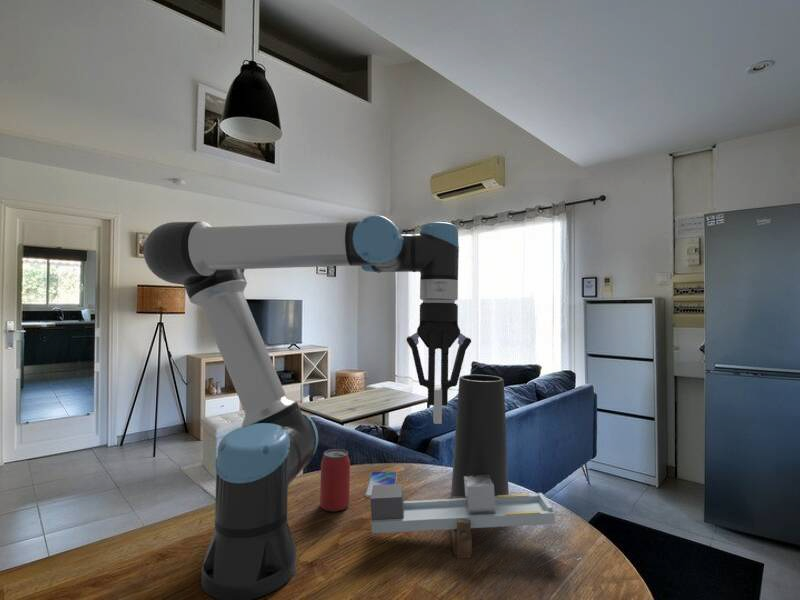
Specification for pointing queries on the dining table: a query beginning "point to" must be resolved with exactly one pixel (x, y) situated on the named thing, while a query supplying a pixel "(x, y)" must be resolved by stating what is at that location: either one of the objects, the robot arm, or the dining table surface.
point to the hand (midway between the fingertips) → (437, 421)
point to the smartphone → (380, 480)
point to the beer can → (335, 480)
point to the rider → (479, 495)
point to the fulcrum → (462, 537)
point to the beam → (452, 511)
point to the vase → (480, 433)
